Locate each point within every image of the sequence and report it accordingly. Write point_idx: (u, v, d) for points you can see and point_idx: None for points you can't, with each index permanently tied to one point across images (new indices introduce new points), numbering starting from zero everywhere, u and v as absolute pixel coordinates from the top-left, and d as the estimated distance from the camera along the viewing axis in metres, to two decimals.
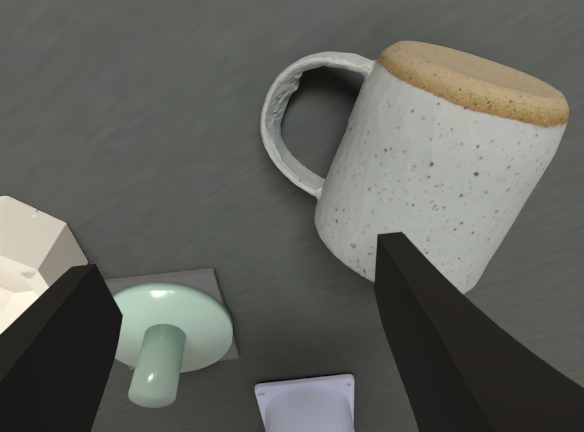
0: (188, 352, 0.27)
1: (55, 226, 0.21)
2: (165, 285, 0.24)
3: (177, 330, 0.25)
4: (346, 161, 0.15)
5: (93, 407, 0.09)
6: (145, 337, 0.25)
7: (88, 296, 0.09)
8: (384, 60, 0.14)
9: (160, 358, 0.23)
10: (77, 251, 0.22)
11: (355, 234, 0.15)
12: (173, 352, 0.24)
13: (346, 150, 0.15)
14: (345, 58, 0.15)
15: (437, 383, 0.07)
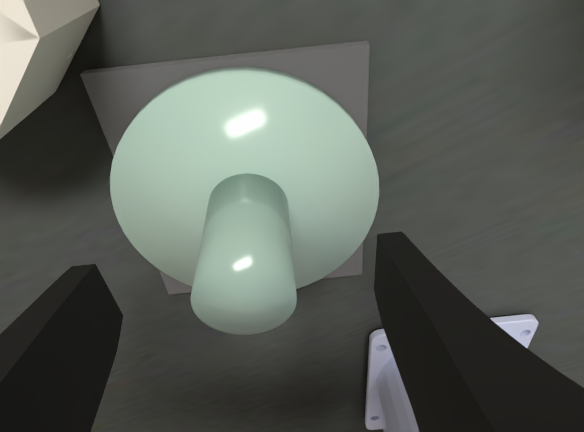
0: None
1: None
2: (265, 70, 0.11)
3: (277, 188, 0.12)
4: None
5: (93, 407, 0.09)
6: (215, 197, 0.12)
7: (88, 296, 0.09)
8: None
9: (258, 223, 0.10)
10: None
11: None
12: (279, 219, 0.11)
13: None
14: None
15: (437, 383, 0.07)
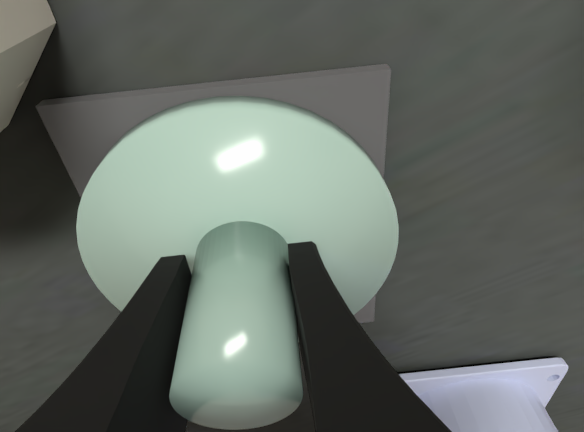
0: None
1: None
2: (263, 102, 0.09)
3: (278, 238, 0.10)
4: None
5: None
6: (203, 251, 0.10)
7: (182, 286, 0.09)
8: None
9: (255, 294, 0.08)
10: None
11: None
12: (281, 283, 0.09)
13: None
14: None
15: (312, 396, 0.07)
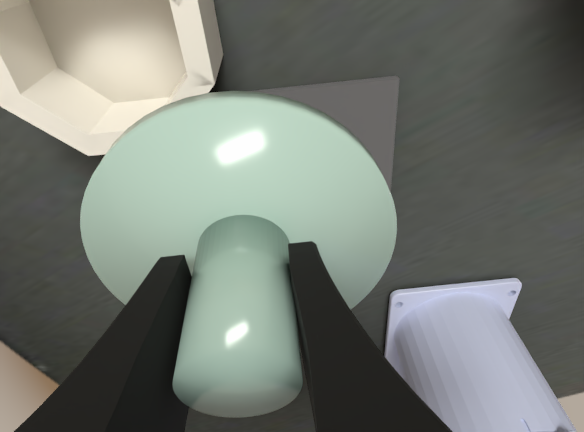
0: None
1: None
2: (257, 96, 0.09)
3: (277, 231, 0.10)
4: None
5: None
6: (203, 245, 0.10)
7: (181, 286, 0.09)
8: None
9: (253, 285, 0.09)
10: (216, 25, 0.15)
11: None
12: (279, 274, 0.09)
13: None
14: None
15: None
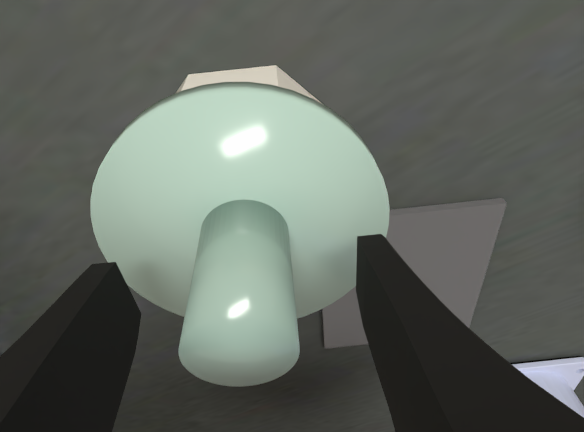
0: None
1: None
2: (246, 85, 0.10)
3: (274, 213, 0.11)
4: None
5: (115, 405, 0.09)
6: (205, 229, 0.11)
7: (109, 294, 0.09)
8: None
9: (251, 261, 0.09)
10: None
11: None
12: (275, 251, 0.10)
13: None
14: None
15: (409, 386, 0.07)
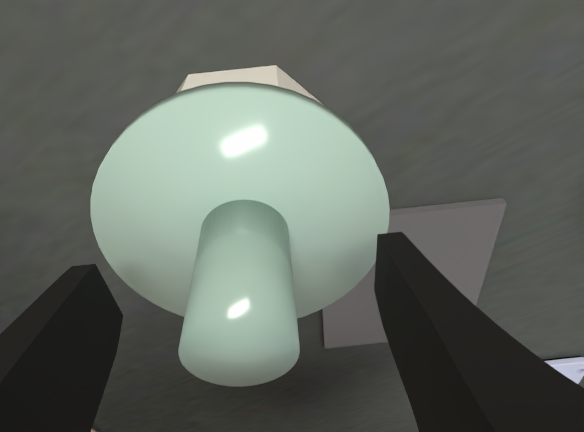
0: None
1: None
2: (246, 85, 0.10)
3: (274, 213, 0.11)
4: None
5: (93, 407, 0.09)
6: (205, 229, 0.11)
7: (88, 296, 0.09)
8: None
9: (251, 261, 0.09)
10: None
11: None
12: (275, 251, 0.10)
13: None
14: None
15: (437, 383, 0.07)
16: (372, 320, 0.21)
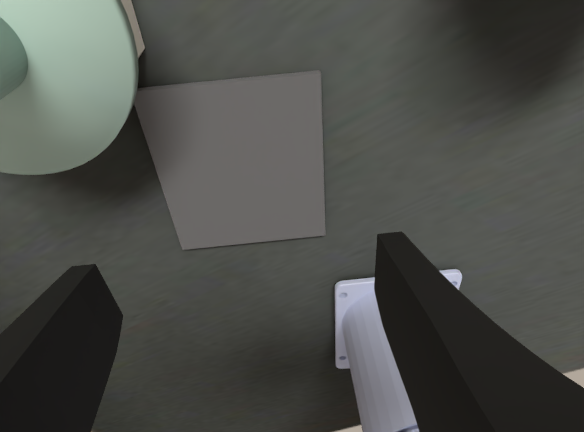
0: (48, 107, 0.13)
1: None
2: None
3: None
4: None
5: (93, 407, 0.09)
6: None
7: (88, 296, 0.09)
8: None
9: None
10: (133, 19, 0.15)
11: None
12: None
13: None
14: None
15: (437, 383, 0.07)
16: (222, 216, 0.21)
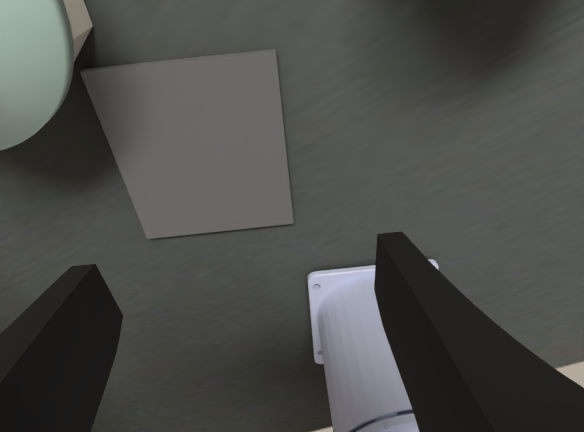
0: None
1: None
2: None
3: None
4: None
5: (93, 407, 0.09)
6: None
7: (88, 296, 0.09)
8: None
9: None
10: None
11: None
12: None
13: None
14: None
15: (437, 383, 0.07)
16: (185, 203, 0.20)
